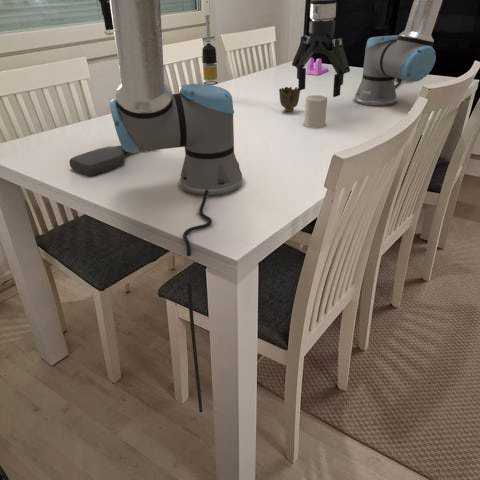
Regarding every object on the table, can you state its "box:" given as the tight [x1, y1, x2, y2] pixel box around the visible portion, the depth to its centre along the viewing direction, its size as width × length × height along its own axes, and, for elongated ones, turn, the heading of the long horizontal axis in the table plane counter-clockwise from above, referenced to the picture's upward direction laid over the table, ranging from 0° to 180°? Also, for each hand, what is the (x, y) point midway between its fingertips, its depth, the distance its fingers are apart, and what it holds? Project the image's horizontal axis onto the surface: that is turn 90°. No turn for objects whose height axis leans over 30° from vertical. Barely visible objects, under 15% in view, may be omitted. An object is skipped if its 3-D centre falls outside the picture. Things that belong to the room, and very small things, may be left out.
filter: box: [201, 14, 219, 86], centre depth 171 cm, size 6×6×30 cm
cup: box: [278, 86, 301, 114], centre depth 159 cm, size 8×7×8 cm
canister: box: [304, 94, 328, 129], centre depth 146 cm, size 7×7×9 cm
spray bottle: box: [68, 145, 133, 177], centre depth 124 cm, size 3×11×24 cm
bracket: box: [306, 57, 329, 76], centre depth 216 cm, size 13×6×7 cm, turn 143°
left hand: (127, 31), depth 117 cm, fingers open, 13 cm apart
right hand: (318, 92), depth 143 cm, fingers open, 13 cm apart
